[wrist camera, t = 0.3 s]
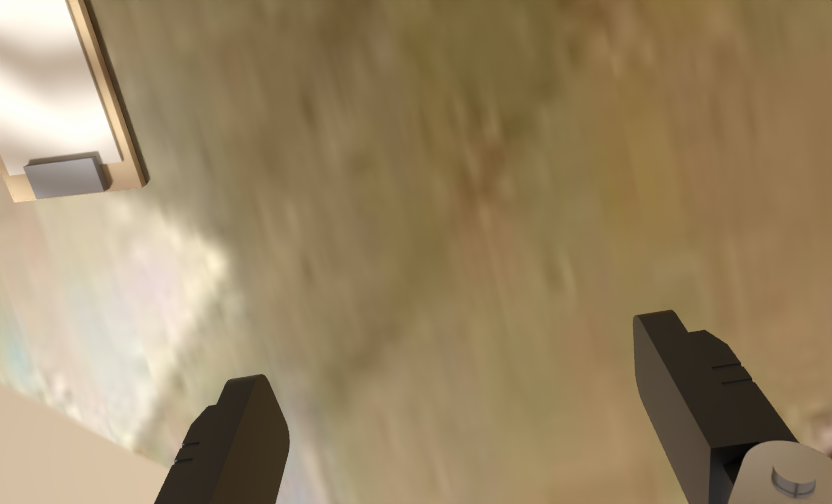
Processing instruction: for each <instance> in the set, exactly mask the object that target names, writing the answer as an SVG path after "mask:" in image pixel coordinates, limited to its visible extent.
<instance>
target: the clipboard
mask: <svg viewBox="0 0 832 504" xmlns="http://www.w3.org/2000/svg"><path fill="white" fill-rule="evenodd" d="M0 171H1V173H2V175H3V178H4V180H5V182H6V184H7V187H8V189H9V191H10V194H11V196H12V198H13V200H14V202H22V201H31V200H39V199H48V198H57V197H65V196H74V195H82V194H91V193H100V192H108V191H117V190H125V189H134V188H142V187H144V186H145V185H146V182H145V179H144V176H143V173H142V170H141V167H140V164H139V161H138V159H137V156H136V153H135V150H134V147H133V144H132V141H131V138H130V135H129V132H128V129H127V126H126V123H125V120H124V117H123V115H122V112H121V109H120V106H119V103H118V100H117V97H116V94H115V91H114V88H113V85H112V82H111V79H110V76H109V73H108V71H107V68H106V65H105V62H104V59H103V56H102V53H101V50H100V47H99V44H98V41H97V38H96V35H95V32H94V29H93V27H92V24H91V21H90V18H89V15H88V12H87V9H86V6H85V3H84V0H0Z"/></svg>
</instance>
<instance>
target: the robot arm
mask: <svg viewBox="0 0 832 504" xmlns="http://www.w3.org/2000/svg"><path fill="white" fill-rule="evenodd" d="M633 335H634V359H635V376H636V382H637V387H638V391H639V394H640V397H641V400H642V402H643V405H644V407H645V409H646V411H647V414H648V416H649V418H650V420H651V422H652V424H653V427H654V429H655V431H656V433H657V435H658V437H659V440H660V442H661V444H662V446H663V448H664V451H665V453H666V455H667V457H668V459H669V461H670V464H671V466H672V468H673V470H674V472H675V475H676V477H677V479H678V481H679V483H680V485H681V488H682V490H683V492H684V494H685V496H686V498H687V501H688V503H689V504H832V460H831V459H830V458H829V457H828V456H826V455H825V454H823V453H821V452H820V451H818V450H816V449H814V448H811V447H809V446H806V445H803V444H800V443H799V442H798V441H797V439H796V438H795V437H794V435H793V434H792V433H791V431H790V430H789V428H788V427H787V426H786V424H785V423H784V422H783V420H782V419H781V417H780V416H779V415H778V413H777V412H776V411H775V409H774V408H773V406H772V405H771V404H770V402H769V401H768V400H767V398H766V397H765V395H764V394H763V393H762V391H761V390H760V389H759V387H758V386H757V384H756V383H755V382H753V381H752V378H751V376H750V375H749V373H748V372H747V371H746V369H745V368H744V367H742V366H741V362H740V361H739V360H738V358H737V357H736V356H735V354H734V353H733V351H732V350H731V349H730V347H729V346H728V345H727V344H726V343H724V342H723V341H721V340H720V339H718V338H717V337H715V336H714V335H712V334H710V333H709V332H707V331H706V330H701V331H695V332H688V331H687V330H686V328H685V327H684V325H683V324H682V322H681V321H680V319H679V318H678V316H677V315H676V313H675V312H674V311H673V310H666V311H660V312H654V313H647V314H641V315H635V316H634V319H633ZM289 444H290V439H289V430H288V426H287V423H286V421H285V418H284V416H283V414H282V411H281V409H280V407H279V404H278V402H277V400H276V397H275V395H274V393H273V390H272V388H271V386H270V383H269V381H268V379H267V378H266V376H265V375H263V374H260V375H253V376H247V377H241V378H235V379H230V380H228V381H227V382H226V384H225V386H224V389H223V391H222V393H221V395H220V398H219V400H218V402H217V405H211V406H208V407H207V408H206V409H205V410H204V411H203V412H202V413H201V414H200V416H199V417H198V418H197V419H196V420H195V421H194V422H193V423H192V424H191V426H190V428H189V430H188V433H187V435H186V437H185V439H184V441H183V443H182V448H180V450H179V452H178V454H177V456H176V458H175V460H174V462H175V464H174V465H172V467H171V469H170V471H169V473H168V475H167V477H166V479H165V481H164V484H163V486H162V488H161V490H160V492H159V494H158V497H157V499H156V501H155V503H154V504H275V503H276V499H277V495H278V491H279V488H280V484H281V480H282V476H283V472H284V468H285V464H286V461H287V457H288V453H289Z"/></svg>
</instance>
